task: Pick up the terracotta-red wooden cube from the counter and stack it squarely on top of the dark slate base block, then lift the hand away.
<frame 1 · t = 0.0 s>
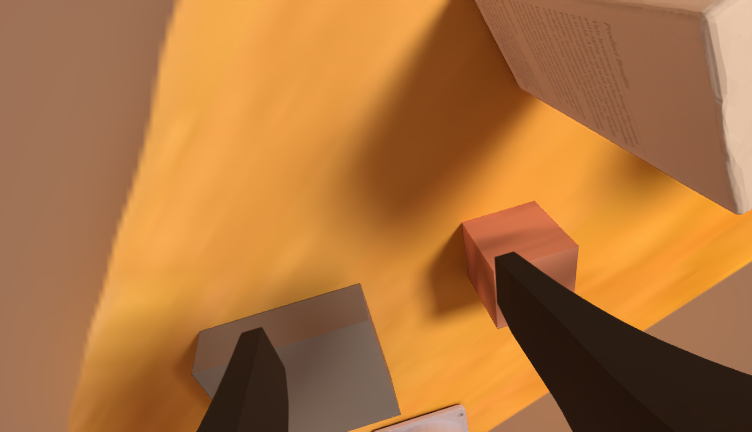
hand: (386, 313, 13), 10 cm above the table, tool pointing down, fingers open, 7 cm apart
skincare box: (529, 4, 19), on the table
base block: (305, 356, 28), on the table
cube: (499, 239, 26), on the table
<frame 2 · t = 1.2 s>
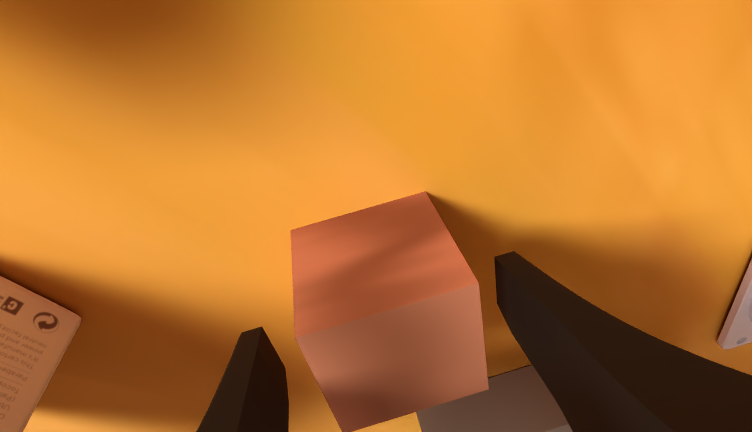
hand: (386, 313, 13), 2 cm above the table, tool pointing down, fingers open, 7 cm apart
base block: (514, 424, 23), on the table
cube: (372, 260, 15), on the table
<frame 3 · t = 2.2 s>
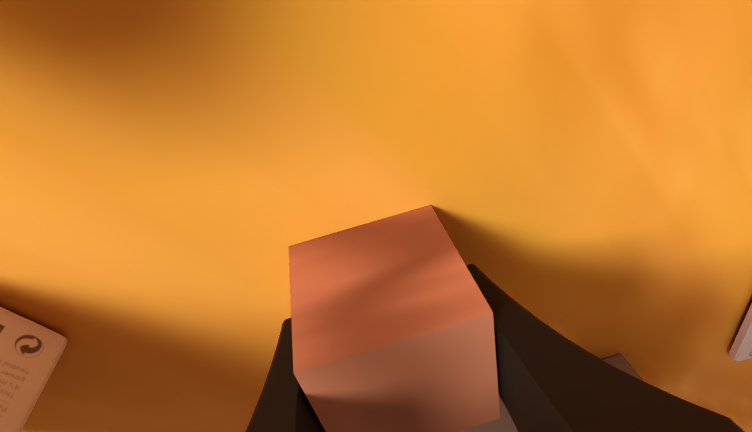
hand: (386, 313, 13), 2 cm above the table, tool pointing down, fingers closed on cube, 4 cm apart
cube: (375, 278, 14), on the table, touching gripper
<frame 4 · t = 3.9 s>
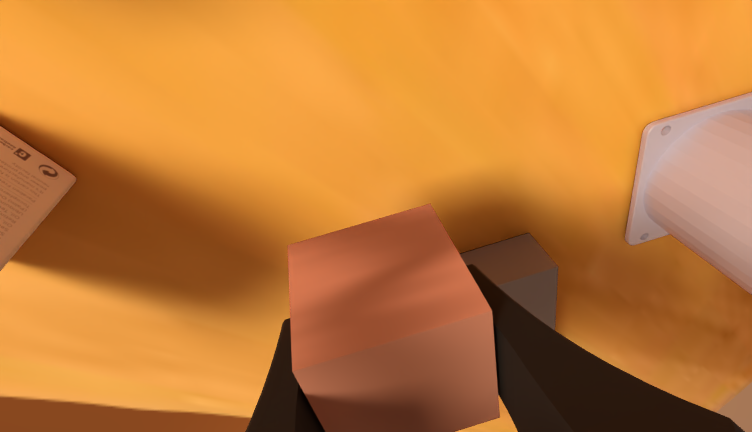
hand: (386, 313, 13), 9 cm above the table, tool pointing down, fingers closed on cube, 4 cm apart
base block: (454, 316, 26), on the table
cube: (374, 276, 14), point 7 cm above the table, touching gripper
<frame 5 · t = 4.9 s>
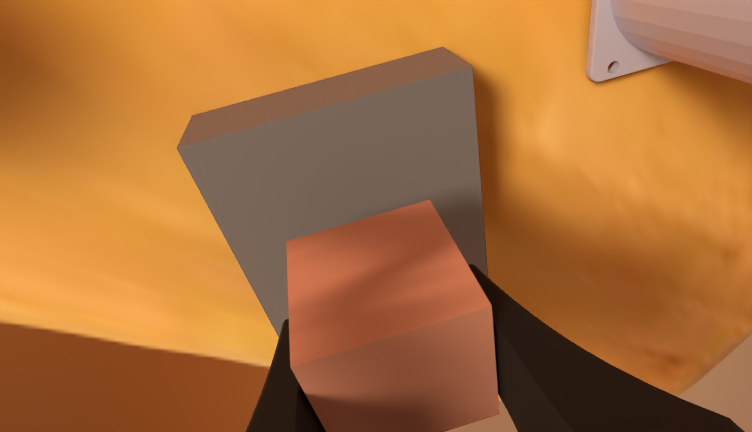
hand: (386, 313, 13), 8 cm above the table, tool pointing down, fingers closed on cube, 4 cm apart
base block: (350, 188, 19), on the table
cube: (374, 273, 14), point 6 cm above the table, touching gripper
when the fingers open (6 cm above the table, at t = 5.7 s): cube stays where it is, resting on base block.
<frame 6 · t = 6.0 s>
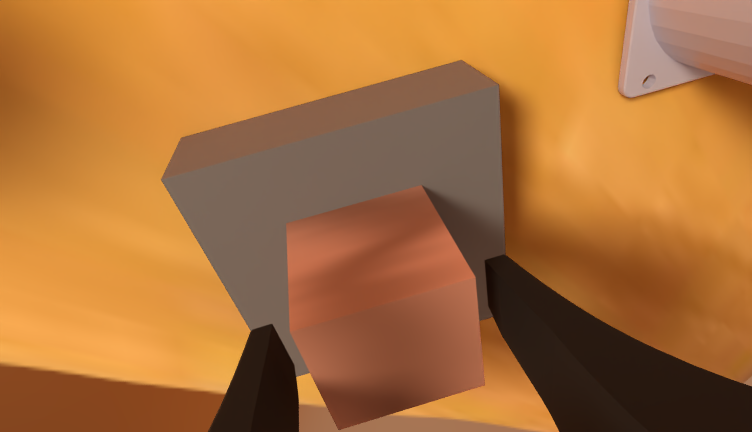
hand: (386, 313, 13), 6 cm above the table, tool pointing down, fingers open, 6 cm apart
base block: (357, 214, 17), on the table
cube: (368, 256, 15), point 3 cm above the table, touching base block
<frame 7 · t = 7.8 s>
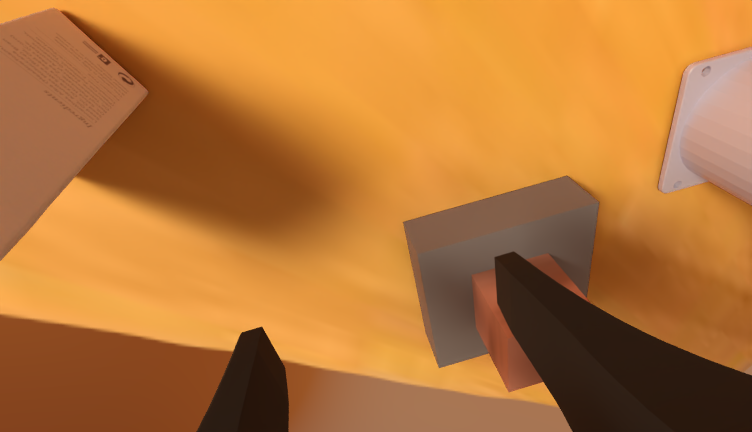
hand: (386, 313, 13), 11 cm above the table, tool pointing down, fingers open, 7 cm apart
skincare box: (59, 95, 17), on the table
base block: (489, 261, 27), on the table
cube: (510, 292, 25), point 3 cm above the table, touching base block
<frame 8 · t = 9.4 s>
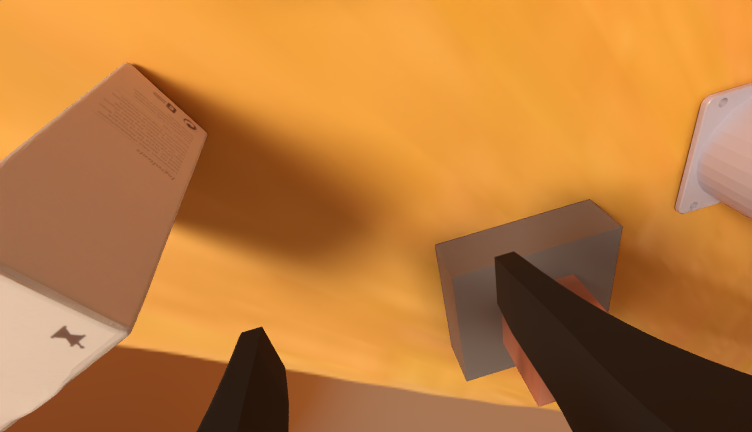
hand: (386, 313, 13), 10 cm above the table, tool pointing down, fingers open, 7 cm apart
skincare box: (125, 138, 19), on the table
base block: (514, 279, 28), on the table
cube: (536, 310, 26), point 3 cm above the table, touching base block
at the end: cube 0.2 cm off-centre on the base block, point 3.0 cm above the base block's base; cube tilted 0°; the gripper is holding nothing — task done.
